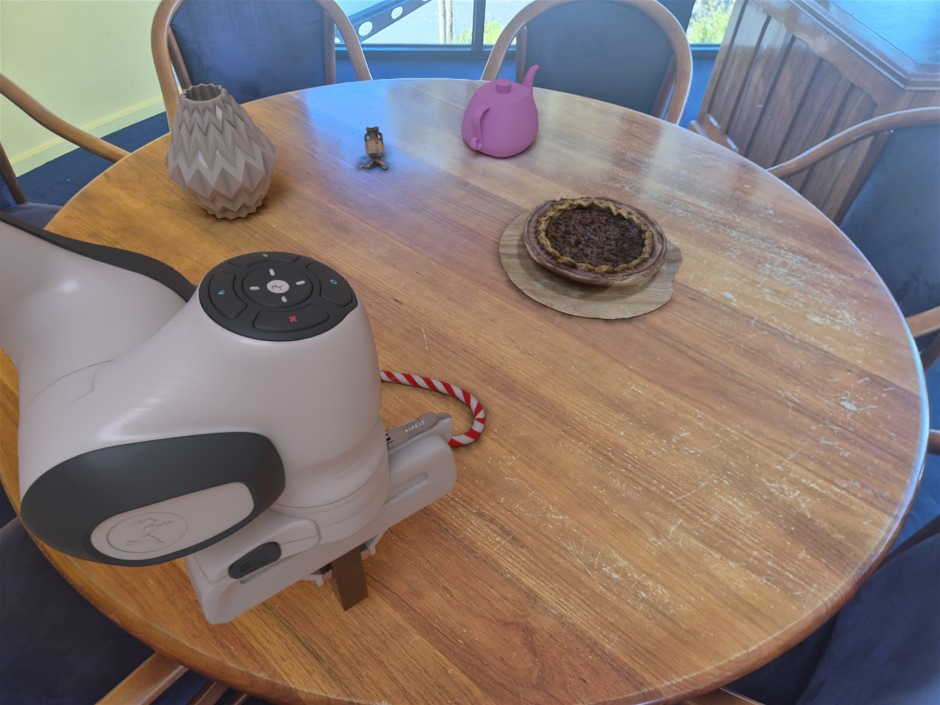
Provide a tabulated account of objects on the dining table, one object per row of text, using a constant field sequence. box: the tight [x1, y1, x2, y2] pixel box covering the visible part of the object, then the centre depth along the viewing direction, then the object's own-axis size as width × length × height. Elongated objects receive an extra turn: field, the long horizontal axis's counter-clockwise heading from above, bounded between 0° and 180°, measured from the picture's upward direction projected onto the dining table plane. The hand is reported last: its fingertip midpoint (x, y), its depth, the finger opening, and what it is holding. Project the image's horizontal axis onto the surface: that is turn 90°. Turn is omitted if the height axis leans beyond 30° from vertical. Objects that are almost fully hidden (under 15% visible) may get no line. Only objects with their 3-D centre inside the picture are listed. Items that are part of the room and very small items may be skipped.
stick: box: [328, 546, 369, 612], centre depth 50 cm, size 2×2×14 cm
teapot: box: [460, 64, 540, 158], centre depth 113 cm, size 20×13×12 cm, turn 144°
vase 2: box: [358, 126, 390, 170], centre depth 109 cm, size 5×5×6 cm
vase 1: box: [163, 82, 277, 221], centre depth 94 cm, size 16×16×18 cm
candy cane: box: [380, 370, 486, 447], centre depth 73 cm, size 8×1×15 cm
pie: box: [498, 195, 683, 320], centre depth 93 cm, size 28×27×5 cm
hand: (343, 563), depth 51 cm, fingers closed on stick, 2 cm apart
